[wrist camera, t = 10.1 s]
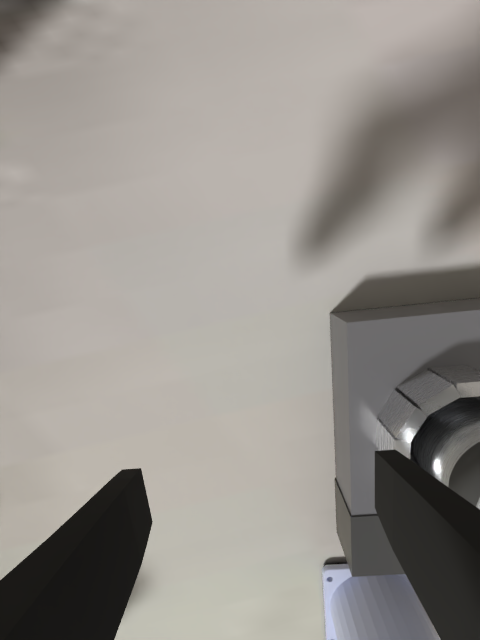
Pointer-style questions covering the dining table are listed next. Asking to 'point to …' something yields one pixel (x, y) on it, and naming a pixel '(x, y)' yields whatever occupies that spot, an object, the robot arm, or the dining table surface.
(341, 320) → the camera body
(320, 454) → the dining table surface
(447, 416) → the lens
